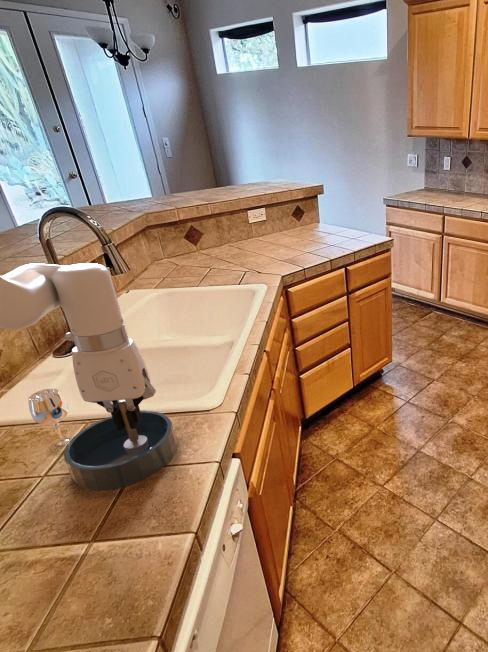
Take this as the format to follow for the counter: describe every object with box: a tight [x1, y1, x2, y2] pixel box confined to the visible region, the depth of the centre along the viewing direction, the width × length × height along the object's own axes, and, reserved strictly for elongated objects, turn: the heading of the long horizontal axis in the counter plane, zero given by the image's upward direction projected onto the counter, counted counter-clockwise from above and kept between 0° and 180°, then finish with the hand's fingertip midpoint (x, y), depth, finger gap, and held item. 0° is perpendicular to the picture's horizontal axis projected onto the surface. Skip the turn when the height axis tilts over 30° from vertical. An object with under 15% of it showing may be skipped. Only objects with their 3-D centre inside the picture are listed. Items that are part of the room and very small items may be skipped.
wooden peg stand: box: [119, 400, 149, 455], centre depth 81 cm, size 4×4×11 cm
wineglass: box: [28, 388, 70, 446], centre depth 85 cm, size 6×6×12 cm
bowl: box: [63, 409, 178, 492], centre depth 83 cm, size 18×18×6 cm
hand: (129, 424), depth 81 cm, fingers closed on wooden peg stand, 1 cm apart
